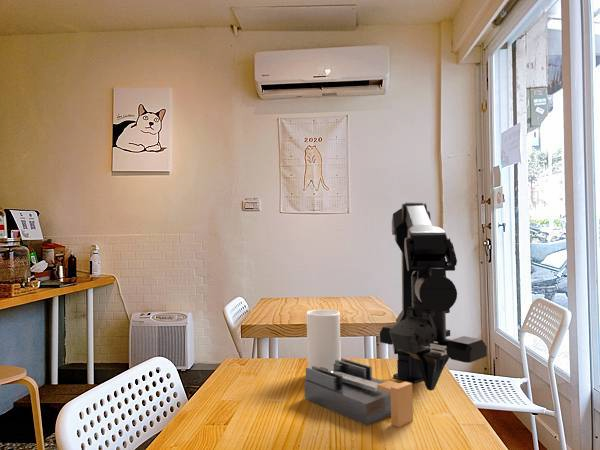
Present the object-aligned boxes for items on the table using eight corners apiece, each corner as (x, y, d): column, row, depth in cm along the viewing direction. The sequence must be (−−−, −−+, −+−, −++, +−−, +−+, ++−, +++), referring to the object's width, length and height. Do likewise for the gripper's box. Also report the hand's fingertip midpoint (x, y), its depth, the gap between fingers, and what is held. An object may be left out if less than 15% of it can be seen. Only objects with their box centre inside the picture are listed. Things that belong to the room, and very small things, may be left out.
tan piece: (391, 412, 89) (390, 376, 89) (413, 420, 85) (412, 383, 85) (376, 418, 87) (375, 382, 87) (398, 427, 83) (397, 389, 83)
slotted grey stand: (344, 385, 105) (343, 357, 105) (407, 408, 91) (406, 376, 91) (304, 398, 98) (304, 368, 98) (366, 425, 84) (365, 390, 84)
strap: (324, 376, 99) (324, 372, 99) (334, 374, 101) (333, 369, 101) (374, 392, 88) (374, 387, 88) (384, 389, 90) (383, 384, 90)
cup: (339, 383, 107) (337, 315, 107) (305, 381, 109) (303, 315, 109) (342, 372, 115) (341, 309, 115) (311, 370, 117) (309, 309, 117)
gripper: (358, 301, 82) (360, 386, 82) (449, 315, 68) (451, 419, 67) (397, 294, 89) (399, 373, 89) (487, 305, 75) (489, 400, 74)
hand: (430, 389), depth 80 cm, fingers closed
